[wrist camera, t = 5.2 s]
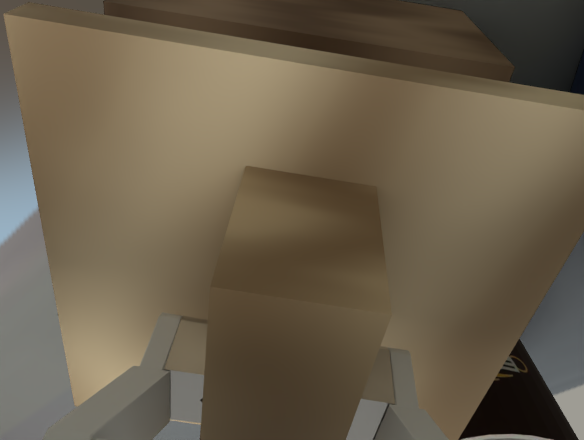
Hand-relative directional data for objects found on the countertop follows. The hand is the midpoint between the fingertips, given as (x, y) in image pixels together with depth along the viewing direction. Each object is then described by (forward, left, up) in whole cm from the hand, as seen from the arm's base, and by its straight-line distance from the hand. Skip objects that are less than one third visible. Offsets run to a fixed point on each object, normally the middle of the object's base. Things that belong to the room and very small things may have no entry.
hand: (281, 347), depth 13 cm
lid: (0, 0, -3) cm, 3 cm away
